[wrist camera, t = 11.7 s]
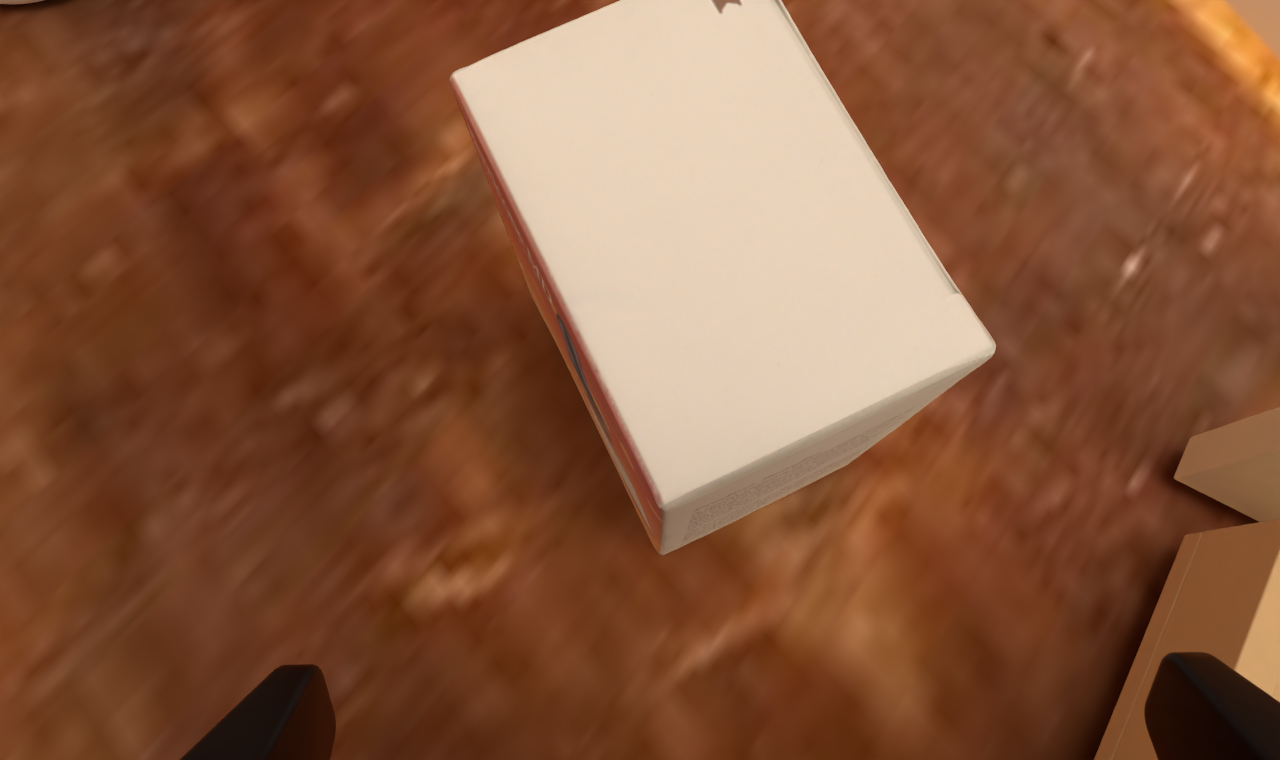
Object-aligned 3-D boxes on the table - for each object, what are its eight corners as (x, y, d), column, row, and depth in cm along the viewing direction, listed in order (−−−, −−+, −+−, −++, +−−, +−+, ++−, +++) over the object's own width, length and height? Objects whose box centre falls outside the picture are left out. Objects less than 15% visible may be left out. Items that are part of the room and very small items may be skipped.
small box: (528, 292, 24) (435, 60, 14) (713, 209, 25) (749, -74, 15) (657, 565, 22) (656, 519, 12) (854, 468, 23) (1009, 349, 13)
